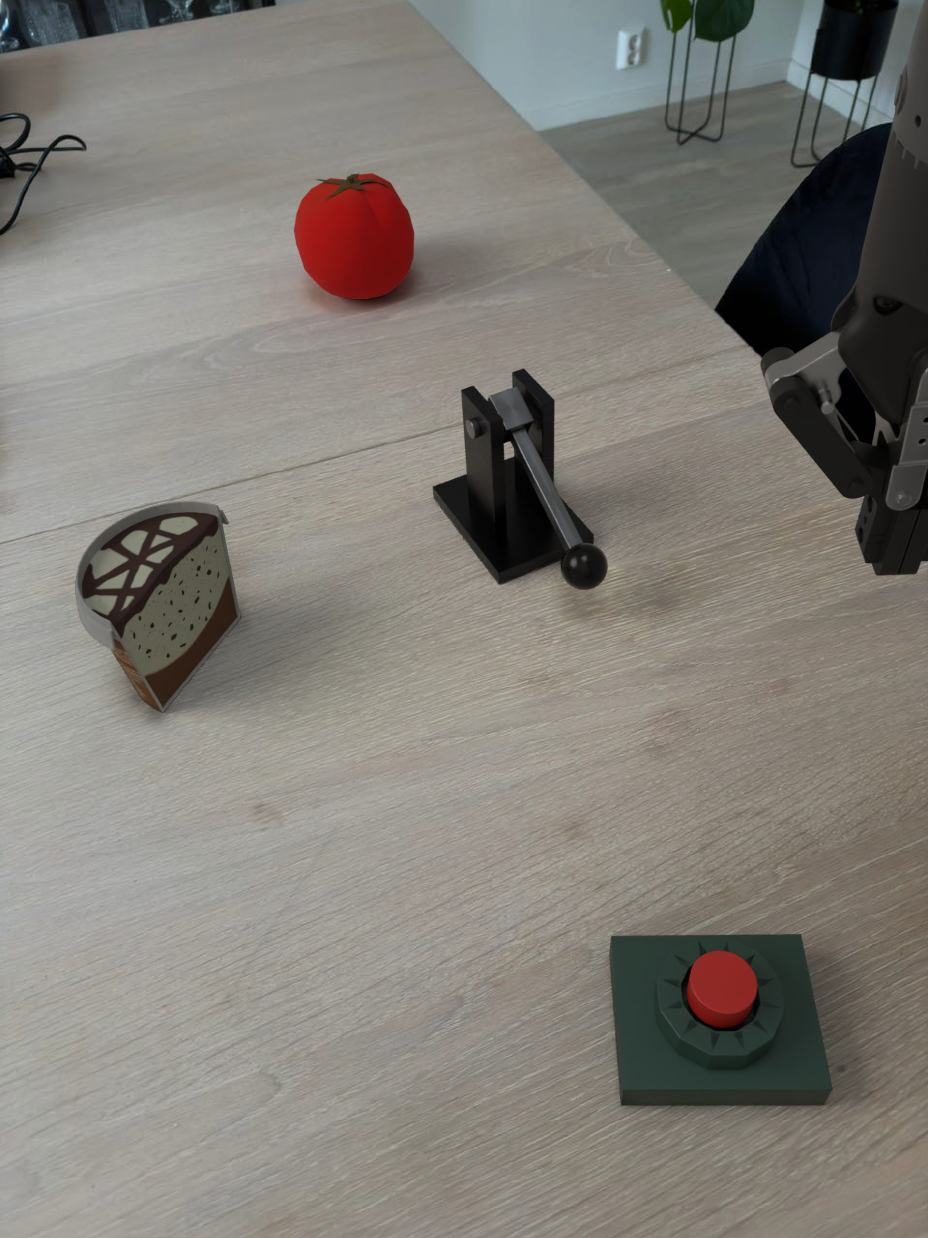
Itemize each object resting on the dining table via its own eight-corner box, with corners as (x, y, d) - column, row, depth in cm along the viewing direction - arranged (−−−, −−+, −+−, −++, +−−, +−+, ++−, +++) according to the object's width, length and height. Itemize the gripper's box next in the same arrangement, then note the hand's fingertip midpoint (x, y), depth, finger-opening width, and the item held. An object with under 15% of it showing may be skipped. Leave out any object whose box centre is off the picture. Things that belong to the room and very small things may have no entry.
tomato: (392, 326, 103) (379, 214, 94) (283, 309, 106) (261, 198, 98) (438, 262, 110) (430, 153, 102) (335, 248, 113) (319, 140, 105)
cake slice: (183, 580, 81) (147, 476, 74) (252, 604, 79) (222, 500, 72) (76, 700, 74) (24, 598, 67) (149, 729, 72) (103, 628, 65)
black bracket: (593, 546, 81) (599, 418, 73) (499, 585, 79) (493, 457, 71) (522, 464, 88) (519, 338, 79) (433, 497, 86) (420, 371, 77)
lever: (607, 586, 76) (622, 571, 73) (567, 602, 75) (580, 588, 72) (514, 402, 79) (524, 380, 76) (475, 416, 78) (483, 394, 75)
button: (747, 965, 55) (751, 950, 54) (757, 1028, 53) (762, 1013, 52) (683, 966, 55) (686, 950, 54) (690, 1028, 53) (694, 1014, 52)
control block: (794, 952, 59) (807, 917, 56) (824, 1105, 54) (840, 1076, 51) (609, 954, 60) (612, 919, 57) (620, 1105, 54) (625, 1076, 51)
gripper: (825, 196, 28) (736, 636, 41) (1351, 171, 28) (1095, 625, 41) (771, 78, 33) (707, 503, 46) (1216, 54, 33) (1026, 491, 46)
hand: (889, 560), depth 43 cm, fingers closed
